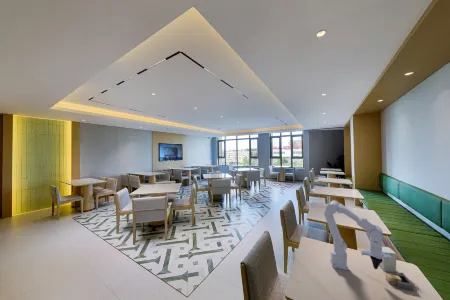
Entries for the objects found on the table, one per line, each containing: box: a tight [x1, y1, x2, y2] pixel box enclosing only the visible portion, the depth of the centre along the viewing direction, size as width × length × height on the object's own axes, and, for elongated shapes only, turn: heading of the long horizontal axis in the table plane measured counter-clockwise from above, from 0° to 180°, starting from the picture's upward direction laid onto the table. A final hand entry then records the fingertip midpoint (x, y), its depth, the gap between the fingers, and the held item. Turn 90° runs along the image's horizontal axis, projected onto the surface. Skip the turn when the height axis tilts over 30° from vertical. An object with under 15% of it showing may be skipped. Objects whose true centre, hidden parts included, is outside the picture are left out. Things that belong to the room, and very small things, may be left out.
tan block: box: [385, 272, 402, 286], centre depth 106 cm, size 6×3×4 cm, turn 70°
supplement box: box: [378, 246, 397, 273], centre depth 118 cm, size 7×7×13 cm
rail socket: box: [389, 272, 415, 292], centre depth 106 cm, size 7×10×3 cm
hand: (375, 267), depth 109 cm, fingers closed
